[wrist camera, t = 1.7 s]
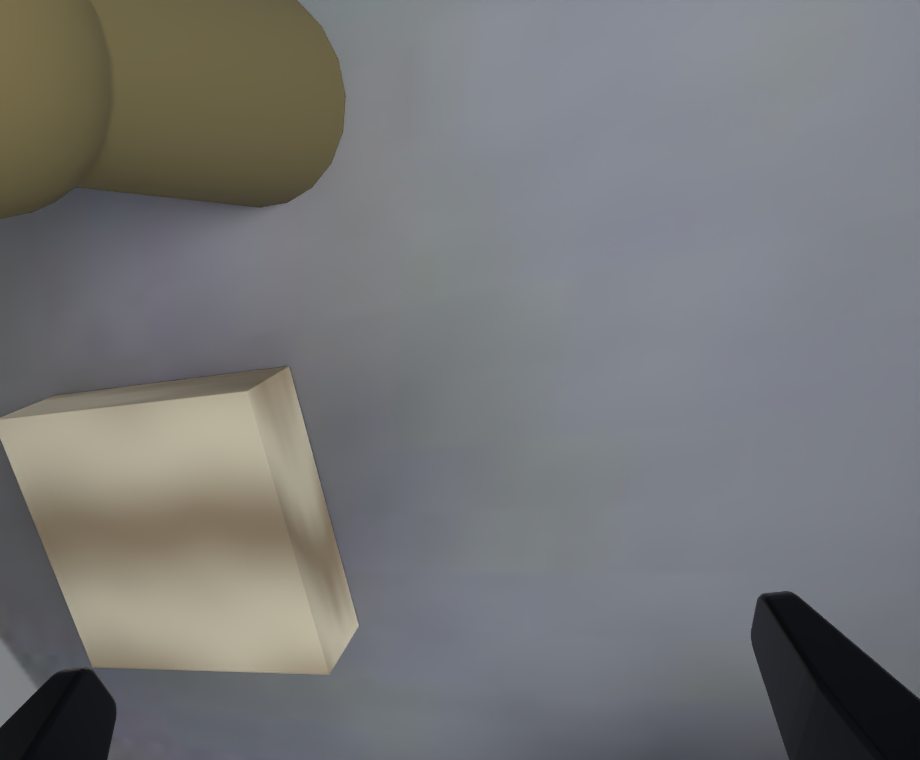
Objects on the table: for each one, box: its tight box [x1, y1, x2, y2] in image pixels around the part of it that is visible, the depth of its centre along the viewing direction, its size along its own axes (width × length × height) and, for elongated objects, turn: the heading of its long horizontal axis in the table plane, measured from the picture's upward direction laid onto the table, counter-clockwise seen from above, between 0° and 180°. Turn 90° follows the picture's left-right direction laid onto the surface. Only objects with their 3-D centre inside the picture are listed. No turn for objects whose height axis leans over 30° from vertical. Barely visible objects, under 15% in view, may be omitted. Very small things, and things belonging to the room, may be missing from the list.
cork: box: [0, 0, 346, 219], centre depth 14 cm, size 6×6×11 cm
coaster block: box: [0, 366, 359, 675], centre depth 23 cm, size 10×10×2 cm
